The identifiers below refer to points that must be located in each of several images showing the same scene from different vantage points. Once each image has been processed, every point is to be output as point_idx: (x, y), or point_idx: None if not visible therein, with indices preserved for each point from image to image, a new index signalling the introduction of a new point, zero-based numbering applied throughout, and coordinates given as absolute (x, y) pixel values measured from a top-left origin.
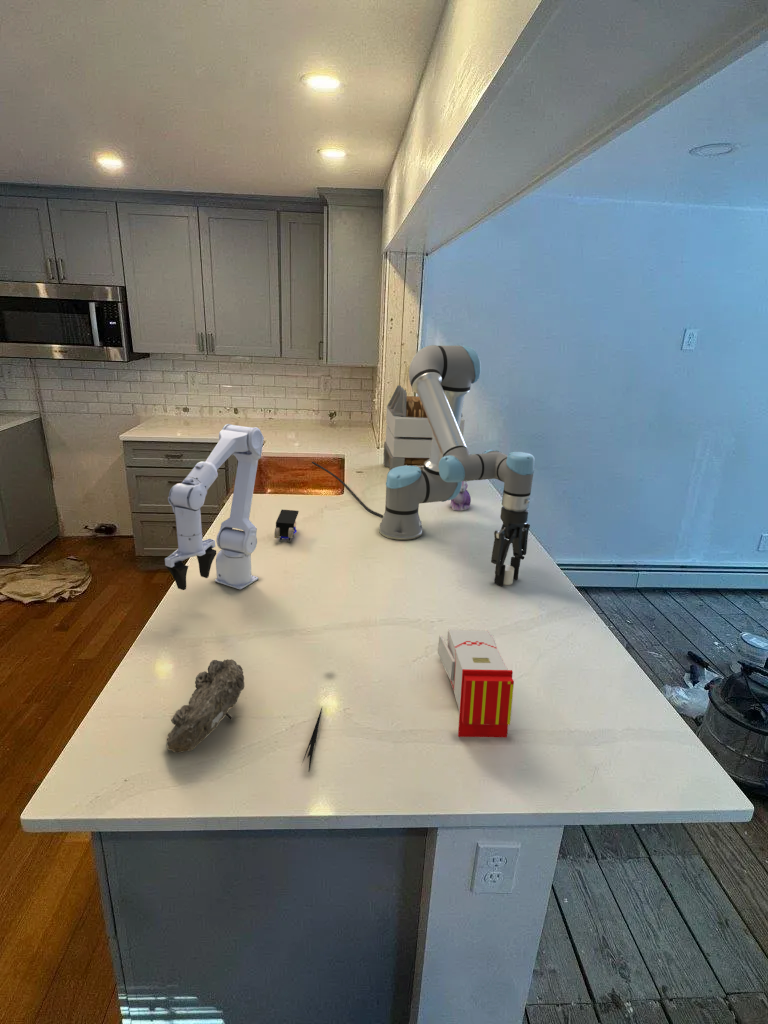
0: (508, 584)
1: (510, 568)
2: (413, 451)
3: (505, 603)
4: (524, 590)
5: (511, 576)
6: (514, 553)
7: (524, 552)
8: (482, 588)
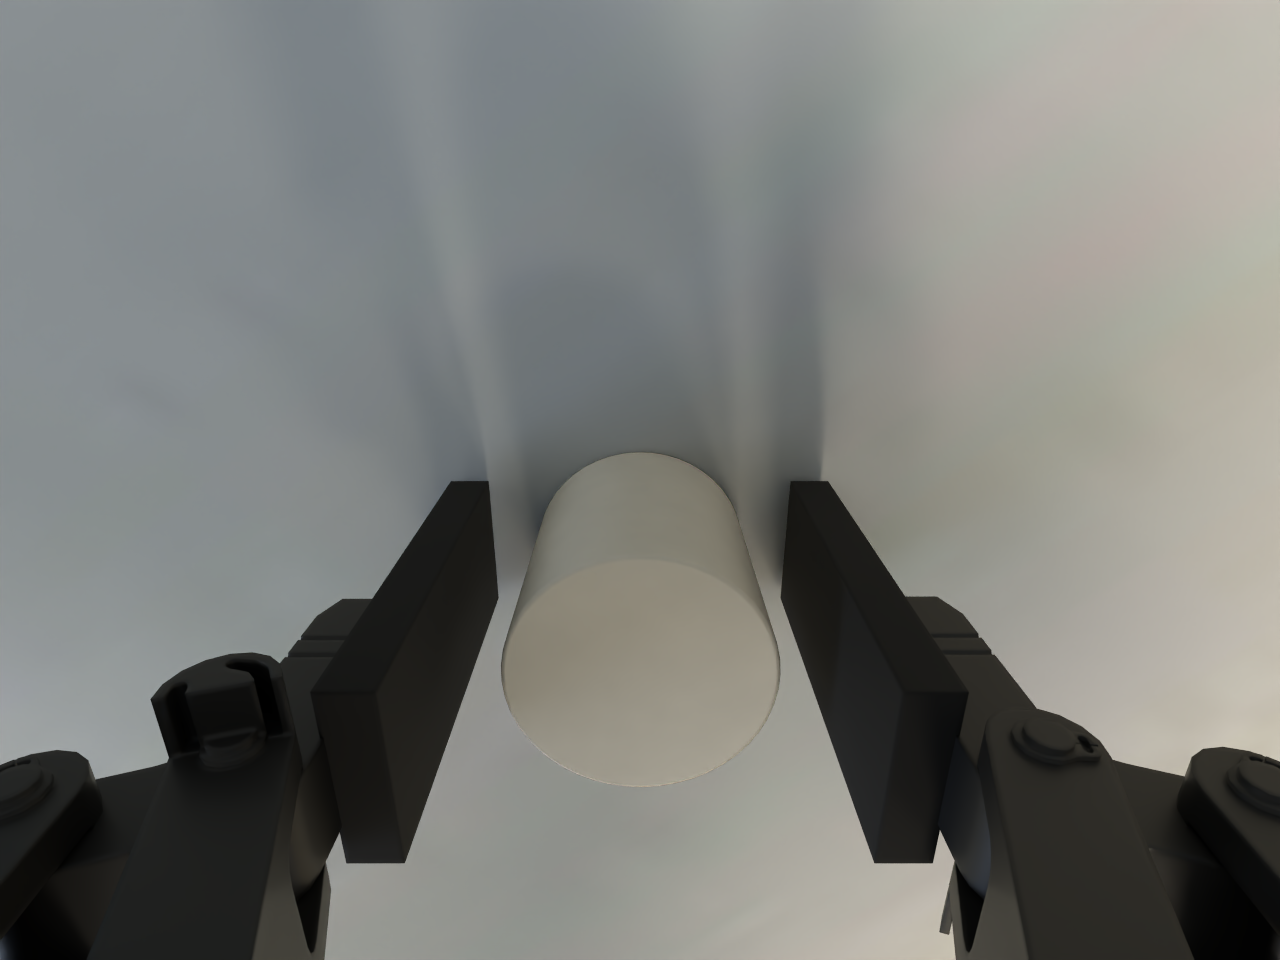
0: (688, 463)
1: (611, 630)
2: None
3: (1267, 93)
4: (631, 198)
5: (660, 502)
6: (314, 926)
7: (20, 830)
8: (1049, 591)
